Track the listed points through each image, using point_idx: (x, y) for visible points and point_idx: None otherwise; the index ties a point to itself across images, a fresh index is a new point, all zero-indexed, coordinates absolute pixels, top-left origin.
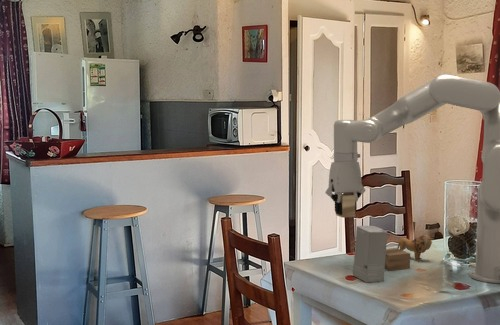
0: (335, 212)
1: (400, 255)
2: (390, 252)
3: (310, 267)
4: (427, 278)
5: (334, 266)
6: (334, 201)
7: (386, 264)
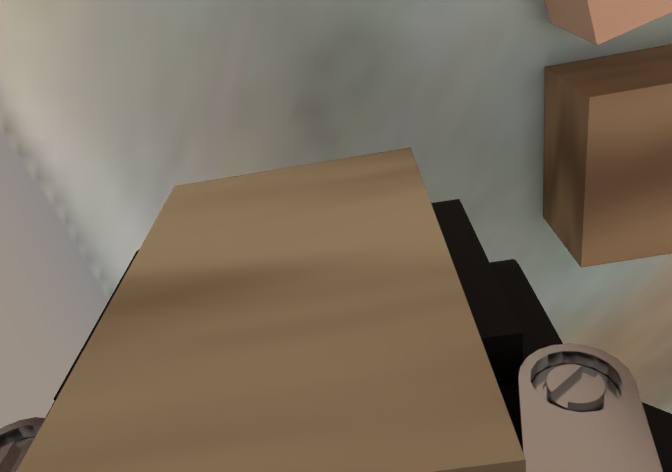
0: (137, 251)
1: (669, 249)
2: (646, 193)
3: (55, 46)
4: (640, 359)
5: (240, 53)
6: (14, 464)
7: (555, 205)
